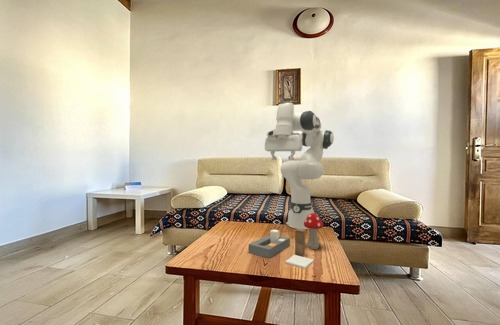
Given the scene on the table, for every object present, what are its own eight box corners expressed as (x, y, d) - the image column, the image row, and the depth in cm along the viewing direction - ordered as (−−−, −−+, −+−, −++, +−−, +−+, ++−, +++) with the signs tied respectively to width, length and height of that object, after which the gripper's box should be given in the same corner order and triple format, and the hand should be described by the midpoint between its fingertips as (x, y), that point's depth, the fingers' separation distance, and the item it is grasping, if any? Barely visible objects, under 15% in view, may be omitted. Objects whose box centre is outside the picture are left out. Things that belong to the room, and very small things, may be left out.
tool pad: (294, 256, 96) (294, 254, 96) (313, 261, 91) (313, 259, 91) (285, 262, 89) (285, 261, 89) (305, 268, 84) (305, 266, 84)
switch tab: (273, 241, 109) (273, 229, 109) (279, 242, 107) (279, 230, 107) (270, 243, 106) (270, 230, 106) (276, 244, 105) (276, 232, 105)
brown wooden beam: (298, 252, 99) (298, 228, 100) (304, 254, 98) (305, 229, 98) (294, 254, 97) (295, 230, 97) (301, 256, 95) (302, 231, 95)
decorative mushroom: (323, 251, 101) (324, 216, 101) (303, 249, 103) (303, 215, 103) (322, 244, 110) (323, 211, 110) (303, 242, 112) (303, 210, 112)
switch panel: (270, 241, 114) (270, 233, 114) (289, 245, 108) (289, 237, 108) (248, 252, 99) (248, 243, 99) (269, 258, 93) (269, 249, 93)
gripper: (305, 133, 118) (303, 161, 117) (270, 135, 131) (268, 160, 129) (300, 130, 113) (298, 159, 112) (264, 132, 126) (262, 159, 124)
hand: (281, 159), depth 121 cm, fingers open, 8 cm apart
